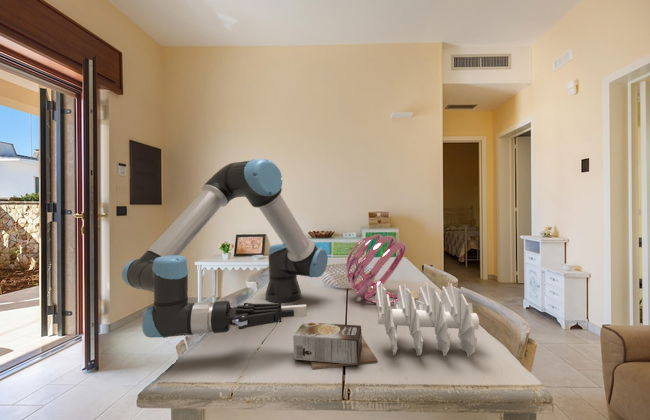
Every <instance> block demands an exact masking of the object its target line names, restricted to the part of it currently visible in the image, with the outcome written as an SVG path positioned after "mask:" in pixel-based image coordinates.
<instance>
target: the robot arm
mask: <svg viewBox="0 0 650 420" xmlns="http://www.w3.org/2000/svg"><path fill="white" fill-rule="evenodd" d="M282 178H283V175H282V172H281V170H280V168H279V167H278V165H277V164H276V163H274V162H273V161H272V160H269V159H266V158H255V159H254V158H253V159H251V160H244V161H237V162H231V163H228V164H226V165H225V166H223V167H221V168H220V169H219V170H217V172H216V173H214V174H213V175H212V176H211V177H210V178H209V179H208V180H207V181H206V182H205V184H203V185H202V186H201V192H200V194H198V195H197V197H196V198H194V200H193V201H192V202H191V203H190V204H189V205H188V206H187V208H185V209H184V211H182V212H181V214H179V216H178V217H177V218H176V219H175V220H174V221H173V222H172V223H171V224H170V226H169V227H168V228H167V229H166V230H165V231H164V232H163V233H162V234H161V235H160V237H158V238H157V239H156V241H155V242H153V244H152V245H151V246H150V247H149V248H148V249H147V250H146V252H144V253H143V254H142V256H141V257H139V258H136V259H131V260H130V261H129V262H127V263H126V264H125V265H124V267H123V269H122V270H121V271H122V272H121V278H122V280H123V282H124V283H125V284H126V285H127V286H130V287H131V288H134V289H137V290H138V289H139V290H144V291H146V292H147V291H148V292H151V293H153V305H150V306H148V307H147V308H146V309H145V310H144V312H143V315H142V316H143V317H142V321H141V329H142V333H143V335H144V336H145V337H147V338H164V339H165V338H171V337H172V338H173V337H182V336H193V335H199V336H200V337H202V336H204V334H207V335H208V334H211V333H213V334H219V333H221V334H222V333H227V332H229V331H230V328H231V326H237V328H238V330H243V329H247V328H252V327H257V326H263V325H268V324H275V323H276V324H277V323H282V319H292V318H293V319H294V318H295V319H296V318H306V317H308V315H307V314H308V312H307V309H308V308H307V304H297V305H296V304H294V305H293V304H292V305H282V303H289V302H290V303H291V302H295V301H297V300H299V299H301V298H302V290H301V288H300V285H299V282H298V277H297V276H301V277H309V278H319V277H321V276H323V275H324V273H325V271H326V269H327V266H328V261H329V258H328V252H327V250H326V249H325V248H324V247H318V246H317V244H316V243H315V241H314V240H312V239H311V238H307V236H306V234H305V233H304V231H303V229H302V227H301V226H300V225H299V223H298V221H297V220H296V218H295V216H294V215H293V213H292V211H291V210H290V208H289V207H288V204H287V203H286V201H285V200H284V198H283V196H282V195H281V194H282V192H283V188H282V185H283V180H282ZM241 197H243V198H246V200H247V201H248V202H249V203H250V205H251V206H252V207H253V208H258V209H259V210H260V211H261V213H262V214H263V216H264V218H266V220H267V221H268V223H269V224H270V226H271V227H272V229H273V230H274V232H275V233H276V235H277V236H278V238H279V240H280V241H281V242H282V243H278V244H272V245H270V246H269V248H268V255H267V256H268V274H269V275H268V277H269V278H268V283H267V287H266V291H265V300H266V301H268V302H272V303H252V302H251V303H250V302H244V303H243V304H241V305H237V306H235V307H231V302H230V301H229V300H221V301H215V302H214V303H213V302H212V301H202V302H192V303H191V302H189V301H188V300H189V299H188V298H189V295H188V294H189V293H188V291H189V290H188V288H189V286H188V283H189V280H188V279H189V276H188V275H189V269H188V262H187V261H188V260H187V258H186V256H184V255H182V253H184V252H185V251H184V250H186V248H187V247H188V246H189V245H190V244H191V243H192V242H193V240H194V239H195V238H196V236H197V235H199V233H200V232H202V229H203V228H204V227H205V226H206V225H207V224H208V222H209V221H210V220H212V218H213V217H214V216H215V214H216V213H217V212H218V211H219V210H220V208H221V207H222V208H223V207H226V206H227V205H228V204H229V203H230V202H231V201H232V200H234V199H235V198H241Z"/></svg>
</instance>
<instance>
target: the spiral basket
mask: <svg viewBox="0 0 650 420" xmlns="http://www.w3.org/2000/svg"><path fill="white" fill-rule="evenodd" d="M375 239H376V241H375V244H373V246H372V247H371V248H370V249H369V246H370V243H371V242H372V241H373V240H375ZM387 242H388V245H387V246H386V249H385V251H384V253H383V254H382V255H381V256H380V258H379V259H378V260H377V261H376V263H375V264H374V265H373V266H372V268H371V269H370V271H369V272H368V273H366V272H365V269H366V268H367V267H368V266H369V264H370V263H371V262H372V261H373V259H374V258H375V257H376V255H377V254H378V252H379V250H380V249H381V247H382V246H383V245H385V243H387ZM358 246H359V247H358ZM367 249H369V250H368V251H367ZM366 251H367V252H366ZM397 251H398V252H397ZM406 251H407V245H406V243H404V242H403V241H398V242H397V241H396V238H395V237H394V236H392V235H385V236H383V235H382V234H380V233H378V234H373V235H371V236H366V237H363V238H362V239H360V240H359V241H358V242H356V243H355V245H354V246H353V247H352V249H351V250H350V252H349V254H348V256H347V259H346V263H345V265H346V268H345V274H346V278H347V282H348V283H349V286H350V287H351V289H352V291H353V292H354V293H355V294H356V295H357V296H358V297H359V298H361V299H362V300H363V301H365V302H367V303H371V304H375V305H376V300H372V299H370V298H371V297H372V296H373V295H376V287H377V286H378V287H379V286H380V283H382V285H383V286H384V285H385V283H386V282H387V280H388V279H389V278H391V275H393V273H394V272H395V270H396V269H397V268H398V266H399V264H400V263H401V261H402V259H403V258H404V256H405V254H406ZM365 252H366V253H365ZM395 253H397V255H396V256H395V258H394V260H393V261H392V263H391V264H390V266H389V267H388V269H387V270H386V271H385V273H384V274H383V275H382V276H381V277H380V279H379V280H378V281H376V282H374V281H373V280H374V279H375V277H376V276H377V275H378V273H379V272H380V270H382V268H383V267H384V265H385V264H386V263H387V262H388V261H389V260H390V259H391V258H392V257H393V256H394V254H395ZM360 259H361V260H360ZM359 260H360V261H359ZM354 264H355V269H354V270H353V271H351V269H352V266H353V265H354ZM350 271H351V272H350ZM359 275H360V276H361V280H360V281H359V282H357V280H358V278H359ZM356 282H357V283H356ZM369 287H370V289H369ZM368 289H369V290H368ZM367 290H368V291H367ZM386 294H388V295H389V298H392V299H393V300H390V305H392V304H394V302H398V298H397V294H395V293H391V292H389V291H387V290H386Z"/></svg>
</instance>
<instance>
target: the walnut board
mask: <svg viewBox="0 0 650 420" xmlns="http://www.w3.org/2000/svg"><path fill="white" fill-rule="evenodd" d="M378 361H379V360H378V358H377V357H376V355H375V354H374V352H373V351H372V349H371V348H370V346H369V345H368V343H367V342H366V341H365V339H364V337H363V336H362V350H361V355H360V360H359V365H367V364H377V363H378ZM310 365H311V368H312V370H320V369H321V370H322V369H328V368H329V369H331V368H339V367H348V366H349V367H350V366H354V365H353V364H342V363H331V362H319V361H310ZM359 365H358V366H359Z"/></svg>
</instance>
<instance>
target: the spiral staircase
mask: <svg viewBox="0 0 650 420" xmlns="http://www.w3.org/2000/svg"><path fill="white" fill-rule="evenodd" d="M422 287H423V288H422ZM441 287H442V288H441V290H440V291H441V293H440V295H439V293H438V292H437V291H435V287H434V286H429V283H428V282H425V284H424V285H423V286H420V287H419V290H418V295H419V296H418V300H419V301H418V300H416V305H415V301H414V297H411V292H410V291H411V290H410V289H409V288H407V284H406V283H404V284H403V285H400V284H399V285H398V287H397V288H398V289H397V293H396V295H397V298H396V299H398V301H397V302H394V303H393V304H394V305H393V306H394V308H391V304H390V301H391V300H390V297H389V295H388V294H386V291H387V289H386V288H385V287H384V284H383V285H382V283H380V286H379V287H378V286H377V287H376V293H375V301H376V304H375V305H376V313H377V324H378V325H383V326H384V328H385V329H384V330H385V331H386V335H387V336H388V338H389V340H390V343H391V349H392V356H396V353H397V351H398V335H397V329H398V326H403V327H405V326H406V327H408V329H409V334H410V336H411V337H412V339H413V349H415V351H416V352H415V353H416V357H419V356H420V355H421V356H422V352H423V345H424V340H423V337H422V330H421V327H422V328H423V327H424V328H425V327H426V328H434V333H435V338H436V341H437V342H438V343H437V344H438V351H440V352H442V355H443V357H446V355H447V354H448V352H449V351H450V341H451V340H450V339H451V333H450V332H449V329H457V330H458V334H457V337H458V339H459V340H460V342H461V350H462V351H463V352H466V355H467V358H471V356H473V354H475V353H476V348H477V341H478V338H477V336H476V335H475V331H476V330H478V329H479V327H480V319H479V315H478V314H477V313H476V312H474V310H473V303H472V302H468V301H467V299H466V297H465V296H464V294H463V293H461V289H460V288H458V287H455V286H453V283H452V282H450V283H449V284H448V285H447V286H446V287H445V286H444V285H443V286H441Z"/></svg>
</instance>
